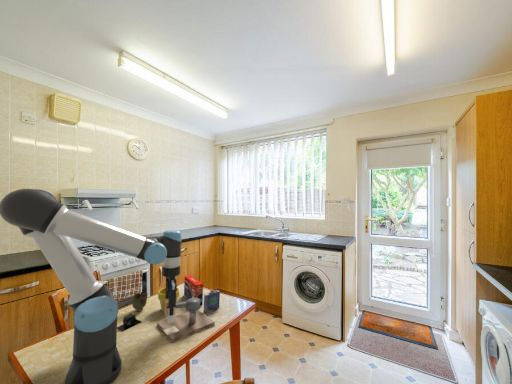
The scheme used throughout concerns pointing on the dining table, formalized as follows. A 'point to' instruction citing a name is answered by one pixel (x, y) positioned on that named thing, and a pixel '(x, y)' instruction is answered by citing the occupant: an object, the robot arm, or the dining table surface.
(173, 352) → the dining table surface
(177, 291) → the plant pot
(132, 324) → the black rounded lump
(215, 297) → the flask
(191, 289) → the toy box
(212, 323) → the post base
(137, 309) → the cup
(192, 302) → the grey joystick lever
